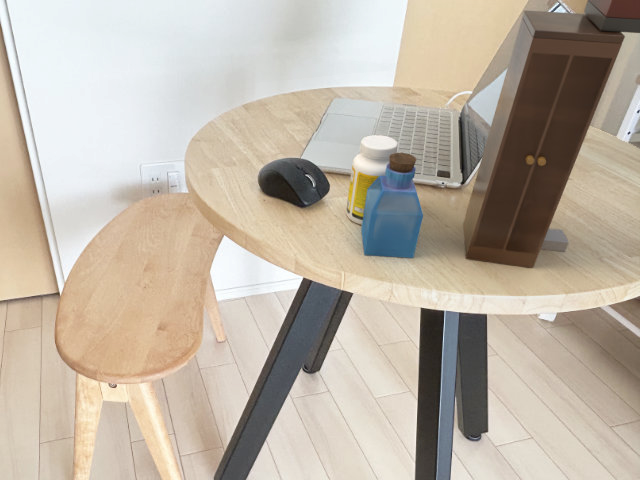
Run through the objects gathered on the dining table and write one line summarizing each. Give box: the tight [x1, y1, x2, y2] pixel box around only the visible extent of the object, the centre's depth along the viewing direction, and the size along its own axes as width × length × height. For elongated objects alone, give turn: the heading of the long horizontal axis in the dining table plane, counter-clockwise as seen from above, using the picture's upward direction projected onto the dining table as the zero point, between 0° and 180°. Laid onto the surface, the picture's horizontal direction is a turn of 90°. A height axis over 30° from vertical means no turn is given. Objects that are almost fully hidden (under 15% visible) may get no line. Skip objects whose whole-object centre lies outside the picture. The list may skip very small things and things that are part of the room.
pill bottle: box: [345, 134, 399, 226], centre depth 77 cm, size 6×6×11 cm
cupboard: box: [462, 10, 626, 269], centre depth 66 cm, size 10×8×27 cm
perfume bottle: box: [360, 152, 424, 259], centre depth 71 cm, size 6×6×12 cm
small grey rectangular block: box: [540, 228, 570, 252], centre depth 75 cm, size 3×3×1 cm
